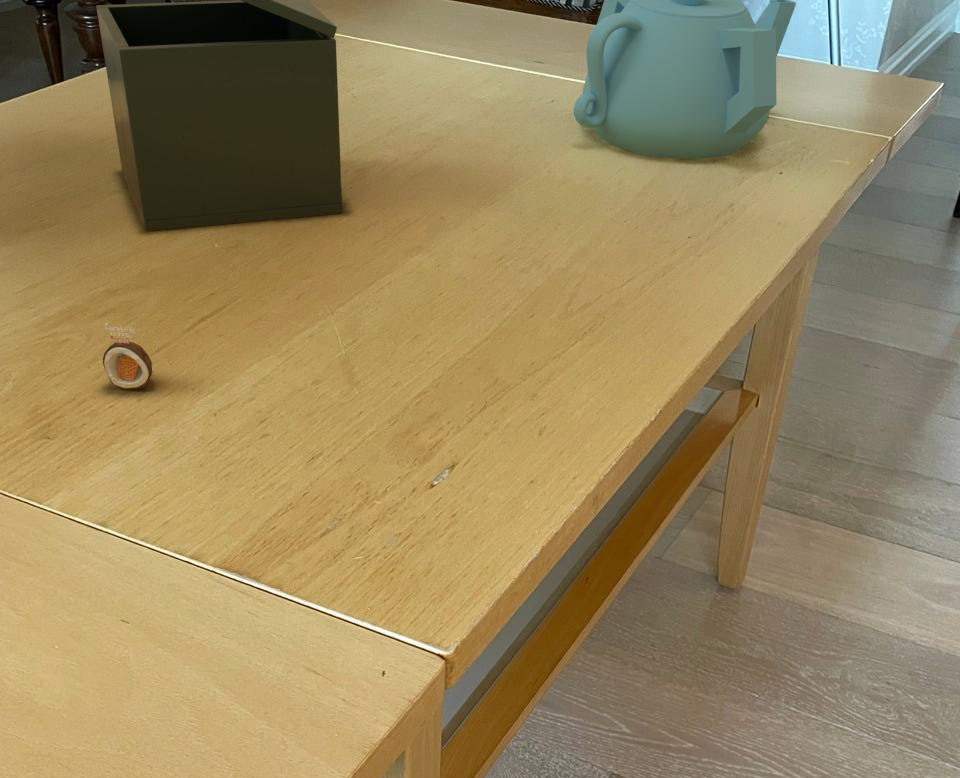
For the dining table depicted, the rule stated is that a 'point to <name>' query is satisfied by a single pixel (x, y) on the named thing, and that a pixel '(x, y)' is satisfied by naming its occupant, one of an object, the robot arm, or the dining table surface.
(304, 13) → the bin lid
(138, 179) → the trash bin
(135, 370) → the chocolate
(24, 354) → the dining table surface
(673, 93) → the teapot
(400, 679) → the dining table surface
